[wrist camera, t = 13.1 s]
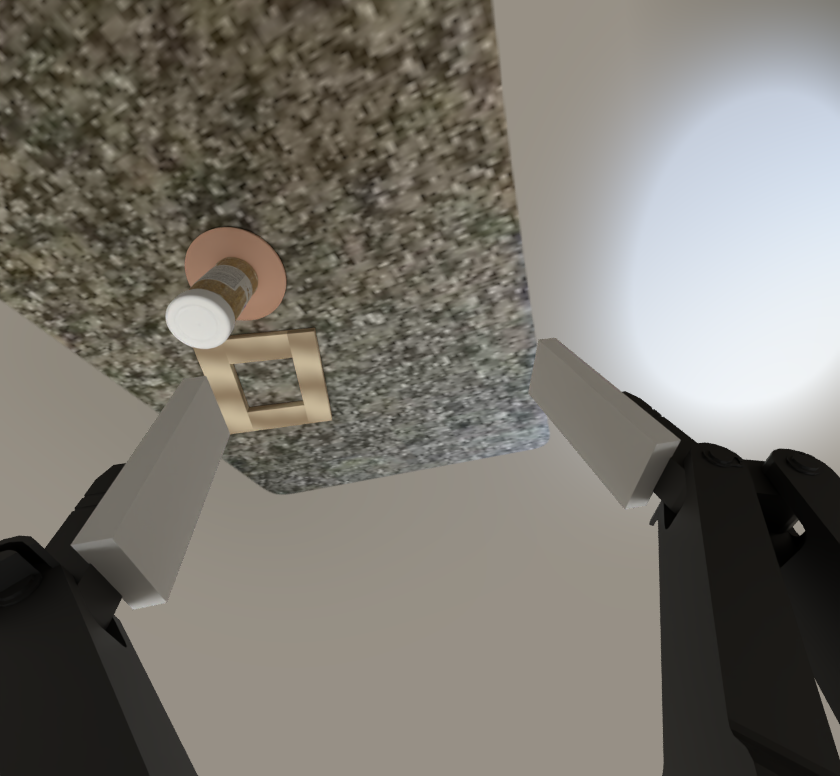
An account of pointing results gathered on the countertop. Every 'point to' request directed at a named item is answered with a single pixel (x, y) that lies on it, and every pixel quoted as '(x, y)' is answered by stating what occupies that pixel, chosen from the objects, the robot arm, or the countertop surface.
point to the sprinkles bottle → (212, 304)
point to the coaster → (246, 248)
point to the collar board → (262, 348)
